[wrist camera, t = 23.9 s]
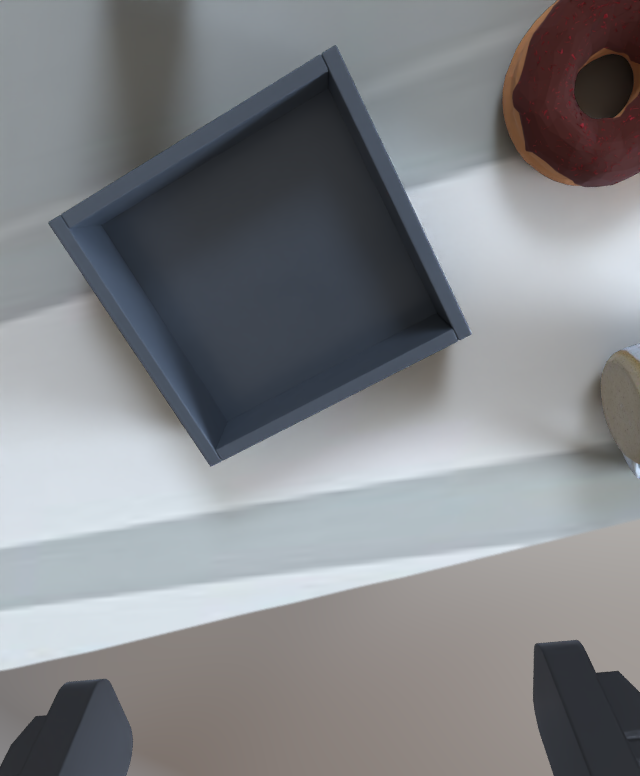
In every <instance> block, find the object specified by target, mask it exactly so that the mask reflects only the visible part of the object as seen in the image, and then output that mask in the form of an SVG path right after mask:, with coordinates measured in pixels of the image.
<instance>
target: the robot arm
mask: <svg viewBox="0 0 640 776" xmlns="http://www.w3.org/2000/svg"><path fill="white" fill-rule="evenodd" d="M533 679H534V680H533V702H534V710H535V715H536V719H537V724H538V728H539V732H540V735H541V738H542V741H543V744H544V747H545V750H546V753H547V756H548V759H549V762H550V765H551V768H552V771H553V774H554V776H640V692H639V691H638V690H637V689H636V688H635V687H634V686H633V685H632V684H631V683H630V682H629V681H628V680H627V679H626V678H624V676H622V674H621V673H620V672H619V671H612V672H601V673H596V672H595V670H594V668H593V666H592V663H591V661H590V659H589V657H588V655H587V653H586V651H585V649H584V647H583V645H582V644H581V643H580V642H579V641H578V640H571V641H559V642H548V643H537V644H535V646H534V677H533ZM132 747H133V738H132V731H131V727H130V724H129V722H128V720H127V718H126V716H125V714H124V711H123V709H122V707H121V705H120V703H119V700H118V698H117V696H116V694H115V691H114V689H113V687H112V685H111V683H110V682H109V681H108V680H107V679H97V680H85V681H73V682H67V683H65V684H64V685H63V686H62V687H61V688H60V690H59V691H58V693H57V695H56V697H55V699H54V701H53V704H52V706H51V708H50V710H49V712H48V714H47V715H46V716H36V717H35V718H34V719H33V720H32V722H30V724H29V725H28V726H27V727H26V728H25V729H24V731H23V732H22V733H21V734H20V735H19V736H18V738H17V739H16V740H15V741H14V742H13V743H12V744H11V746H10V748H9V750H8V753H7V754H6V756H5V758H4V760H3V762H2V764H1V766H0V776H126V775H127V771H128V768H129V765H130V761H131V756H132Z"/></svg>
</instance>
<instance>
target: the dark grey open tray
mask: <svg viewBox="0 0 640 776" xmlns="http://www.w3.org/2000/svg"><path fill="white" fill-rule="evenodd" d="M49 225H50V227H51V228H52V230H53V231H54V233H55V234H56V236H57V237H58V239H59V240H60V242H61V243H62V245H63V246H64V248H65V249H66V251H67V252H68V254H69V255H70V257H71V258H72V260H73V261H74V263H75V264H76V266H77V267H78V269H79V270H80V272H81V273H82V275H83V276H84V278H85V279H86V281H87V282H88V284H89V285H90V287H91V288H92V290H93V291H94V293H95V294H96V296H97V297H98V299H99V300H100V302H101V303H102V305H103V306H104V308H105V309H106V311H107V312H108V314H109V315H110V317H111V318H112V320H113V321H114V323H115V324H116V326H117V327H118V329H119V330H120V332H121V333H122V335H123V336H124V338H125V339H126V341H127V342H128V344H129V345H130V347H131V348H132V350H133V351H134V353H135V354H136V356H137V357H138V359H139V360H140V362H141V363H142V365H143V366H144V368H145V369H146V371H147V372H148V374H149V375H150V377H151V378H152V380H153V381H154V383H155V384H156V386H157V387H158V389H159V390H160V392H161V393H162V395H163V396H164V398H165V399H166V401H167V402H168V404H169V405H170V407H171V408H172V410H173V411H174V413H175V414H176V416H177V417H178V419H179V420H180V422H181V423H182V425H183V426H184V428H185V429H186V431H187V432H188V434H189V435H190V437H191V438H192V440H193V441H194V443H195V444H196V446H197V447H198V449H199V450H200V452H201V453H202V455H203V456H204V458H205V459H206V461H207V462H208V464H209V465H210V466H213V465H215V464H217V463H219V462H221V461H222V460H225V459H227V458H229V457H231V456H233V455H235V454H237V453H239V452H241V451H243V450H245V449H247V448H249V447H251V446H253V445H255V444H257V443H259V442H261V441H263V440H264V439H266V438H268V437H270V436H272V435H274V434H276V433H278V432H280V431H282V430H284V429H286V428H288V427H290V426H292V425H294V424H296V423H298V422H300V421H302V420H304V419H306V418H308V417H310V416H312V415H314V414H316V413H318V412H320V411H322V410H324V409H326V408H328V407H330V406H331V405H333V404H335V403H337V402H339V401H341V400H343V399H345V398H347V397H349V396H351V395H353V394H355V393H357V392H359V391H361V390H363V389H365V388H367V387H369V386H371V385H373V384H375V383H377V382H379V381H381V380H383V379H385V378H387V377H389V376H391V375H393V374H395V373H397V372H399V371H400V370H402V369H404V368H406V367H408V366H410V365H412V364H414V363H416V362H418V361H420V360H422V359H424V358H426V357H428V356H430V355H432V354H434V353H436V352H438V351H440V350H442V349H444V348H446V347H448V346H450V345H452V344H454V343H456V342H457V341H458V340H462V339H464V338H466V337H467V336H469V335H471V334H472V333H471V330H470V328H469V326H468V324H467V322H466V320H465V318H464V315H463V313H462V311H461V309H460V307H459V305H458V303H457V301H456V298H455V296H454V294H453V292H452V290H451V288H450V286H449V284H448V281H447V279H446V277H445V275H444V273H443V271H442V269H441V267H440V264H439V262H438V260H437V258H436V256H435V254H434V252H433V250H432V247H431V245H430V243H429V241H428V239H427V237H426V235H425V233H424V230H423V228H422V226H421V224H420V222H419V220H418V218H417V216H416V213H415V211H414V209H413V207H412V205H411V203H410V201H409V199H408V196H407V194H406V192H405V190H404V188H403V186H402V184H401V182H400V179H399V177H398V175H397V173H396V171H395V169H394V167H393V165H392V162H391V160H390V158H389V156H388V154H387V152H386V150H385V148H384V145H383V143H382V141H381V139H380V137H379V135H378V133H377V131H376V128H375V126H374V124H373V122H372V120H371V118H370V116H369V114H368V111H367V109H366V107H365V105H364V103H363V101H362V99H361V97H360V94H359V92H358V90H357V88H356V86H355V84H354V82H353V80H352V77H351V75H350V73H349V71H348V69H347V67H346V65H345V63H344V60H343V58H342V56H341V54H340V52H339V50H338V48H337V46H336V45H334V46H333V47H331V48H329V49H328V50H326V51H325V52H323V53H322V56H321V55H318V56H316V57H315V58H313V59H312V60H310V61H308V62H307V63H305V64H304V65H302V66H300V67H299V68H297V69H295V70H294V71H292V72H291V73H289V74H287V75H286V76H284V77H283V78H281V79H279V80H278V81H276V82H274V83H273V84H271V85H270V86H268V87H266V88H265V89H263V90H262V91H260V92H258V93H257V94H255V95H253V96H252V97H250V98H249V99H247V100H245V101H244V102H242V103H240V104H239V105H237V106H236V107H234V108H232V109H231V110H229V111H228V112H226V113H224V114H223V115H221V116H219V117H218V118H216V119H215V120H213V121H211V122H210V123H208V124H207V125H205V126H203V127H202V128H200V129H198V130H197V131H195V132H194V133H192V134H190V135H189V136H187V137H186V138H184V139H182V140H181V141H179V142H177V143H176V144H174V145H173V146H171V147H169V148H168V149H166V150H165V151H163V152H161V153H160V154H158V155H156V156H155V157H153V158H152V159H150V160H148V161H147V162H145V163H143V164H142V165H140V166H139V167H137V168H135V169H134V170H132V171H131V172H129V173H127V174H126V175H124V176H122V177H121V178H119V179H118V180H116V181H114V182H113V183H111V184H110V185H108V186H106V187H105V188H103V189H101V190H100V191H98V192H97V193H95V194H93V195H92V196H90V197H89V198H87V199H85V200H84V201H82V202H80V203H79V204H77V205H76V206H74V207H72V208H71V209H69V210H67V211H66V212H64V213H63V214H62V215H60V216H58V217H56V218H54V219H53V220H51V221H50V222H49Z"/></svg>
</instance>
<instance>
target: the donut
mask: <svg viewBox="0 0 640 776" xmlns="http://www.w3.org/2000/svg"><path fill="white" fill-rule="evenodd" d="M608 54H617V55H621V56H623V57H624V58H626V59H627V61H628V62H629V63H630V65H631V68H632V70H633V76H634V84H633V90H632V93H631V95H630V98H629V101H628V102H627V104H626V105H625V107H624V108H623V109H622V111H621V112H620V113H619V114H618V115H616V116H615V117H613V118H601V119H594V118H590V117H589V116H588V115H586V114H585V113H583V112H582V111H581V110H580V108H579V106H578V103H577V101H576V99H575V96H574V88H575V81H576V77H577V74H578V72H579V71H580V70H581V69H582V68H583V67H584V66H585V65H587V64H588V63H590V62H591V61H593V60H596V59H598V58H600V57H602V56H605V55H608ZM502 104H503V114H504V119H505V123H506V126H507V129H508V133H509V136H510V138H511V139H512V141H513V143H514V145H515V147H516V149H517V151H518V152H519V154H520V155H521V156H522V158H523V159H524V160H525V161H526V162H527V163H528V164H529V165H531V166H532V167H533V168H534V169H535V170H537V171H538V172H539V173H541V174H542V175H544V176H546V177H548V178H550V179H552V180H554V181H557V182H560V183H563V184H567V185H575V186H583V187H599V186H607V185H613V184H616V183H618V182H620V181H623V180H625V179H627V178H629V177H631V176H633V175H635V174H637V173H639V172H640V0H557V1H556V2H555V3H554V4H553V5H552V6H550V7H549V8H548V9H547V10H546V11H545V12H544V13H543V14H542V15H541V16H540V17H539V18H538V19H537V20H536V21H535V22H534V24H533V25H532V26H531V28H530V29H529V31H528V32H527V33H526V35H525V36H524V37H523V39H522V40H521V42H520V44H519V45H518V47H517V49H516V51H515V53H514V56H513V58H512V61H511V63H510V66H509V68H508V71H507V74H506V76H505V81H504V86H503V97H502Z"/></svg>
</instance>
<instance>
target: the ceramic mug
mask: <svg viewBox="0 0 640 776" xmlns="http://www.w3.org/2000/svg"><path fill="white" fill-rule="evenodd" d="M601 400H602V406H603V411H604V415H605V419H606V422H607V425H608V427H609V430H610V433H611V435H612V437H613V439H614V440H615V442H616V444H617V446H618V447H619V449H620V450H621V451H622V452H623V454H624V458H625V460H626V462H627V464H628V465H629V467H630V469H631V471H632V472H633V473H634V475H635V476H636V477H637V478H639V479H640V343H639V344H635V345H633V346H630V347H628V348H625V349H623V350H620V351H618V352H616V353H614V354H613V355H612V356H611V357H610V358H609V359H608V361H607V362H606V364H605V367H604V369H603V372H602V376H601Z"/></svg>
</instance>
